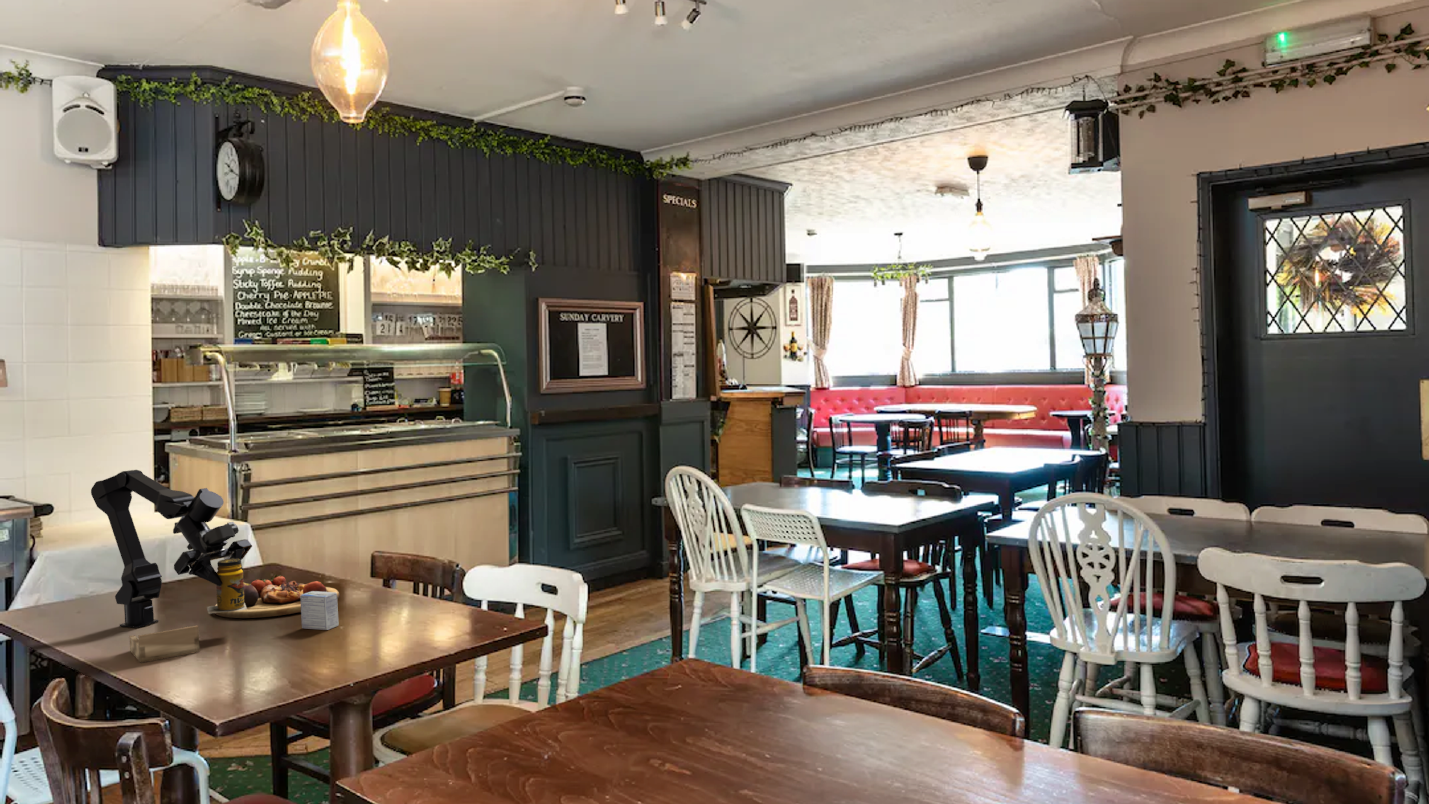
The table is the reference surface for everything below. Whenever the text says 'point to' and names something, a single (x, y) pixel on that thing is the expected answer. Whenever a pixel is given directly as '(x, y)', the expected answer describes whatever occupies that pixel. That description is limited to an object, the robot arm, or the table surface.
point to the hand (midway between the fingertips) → (232, 581)
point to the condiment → (229, 587)
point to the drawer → (165, 644)
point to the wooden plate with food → (274, 597)
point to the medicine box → (319, 610)
